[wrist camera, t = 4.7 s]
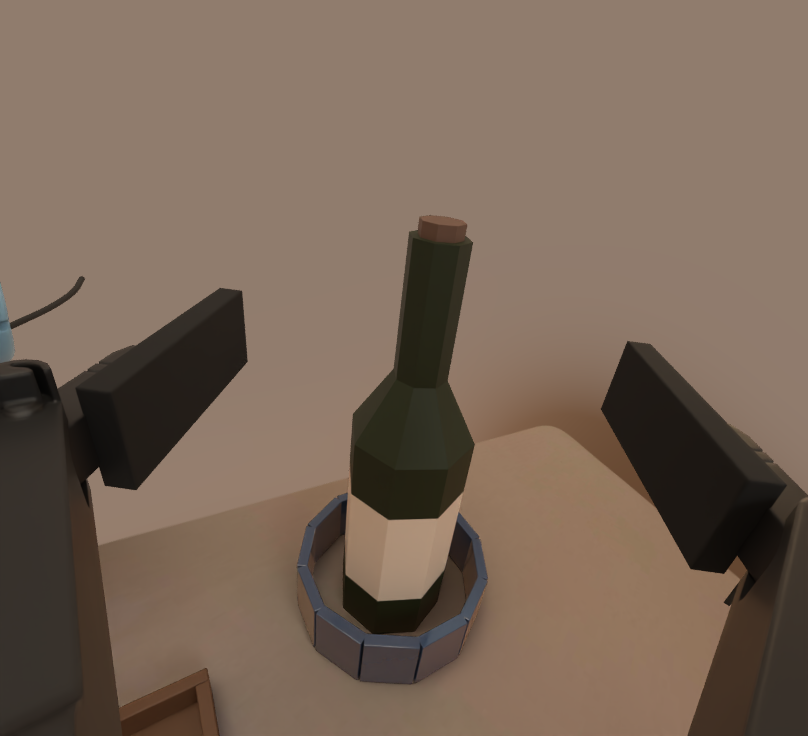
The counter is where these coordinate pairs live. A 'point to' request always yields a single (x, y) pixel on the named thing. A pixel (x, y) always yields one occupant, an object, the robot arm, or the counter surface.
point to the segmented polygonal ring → (374, 651)
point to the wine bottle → (410, 446)
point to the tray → (173, 710)
